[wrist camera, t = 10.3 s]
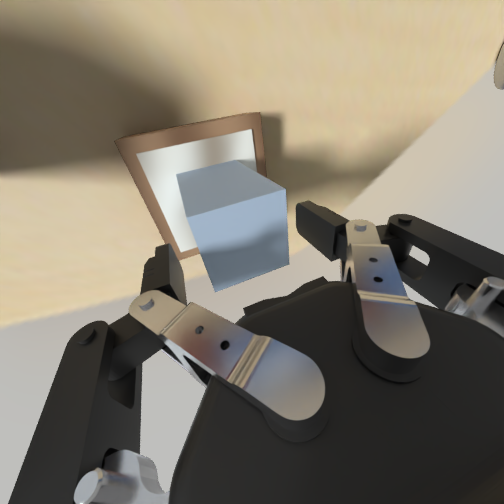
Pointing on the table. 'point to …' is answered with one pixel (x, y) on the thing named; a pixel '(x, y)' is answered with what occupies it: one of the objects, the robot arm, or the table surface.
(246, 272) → the block
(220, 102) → the table surface
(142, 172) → the base
